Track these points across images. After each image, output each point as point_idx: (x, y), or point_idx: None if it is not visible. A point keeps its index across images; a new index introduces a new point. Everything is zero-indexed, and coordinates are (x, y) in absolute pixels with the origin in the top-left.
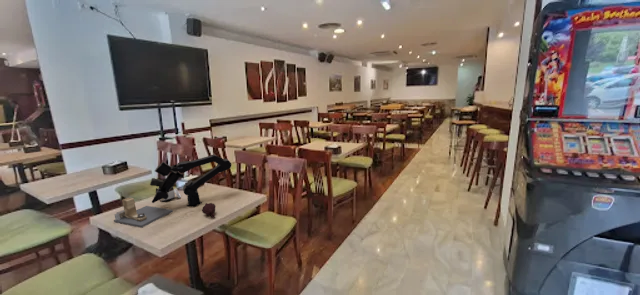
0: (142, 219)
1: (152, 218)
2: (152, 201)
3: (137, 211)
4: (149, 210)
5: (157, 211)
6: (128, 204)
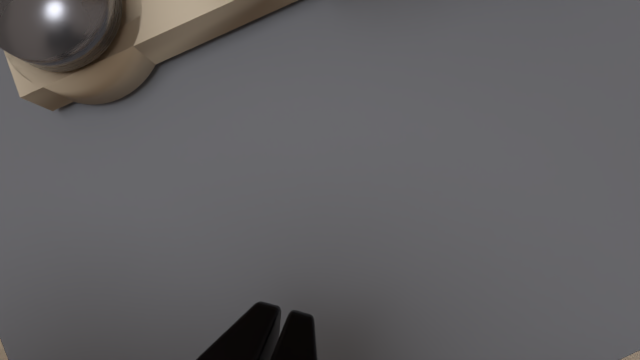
0: None
1: (1, 192)
2: (237, 325)
3: (612, 36)
4: (466, 233)
5: None
6: None
